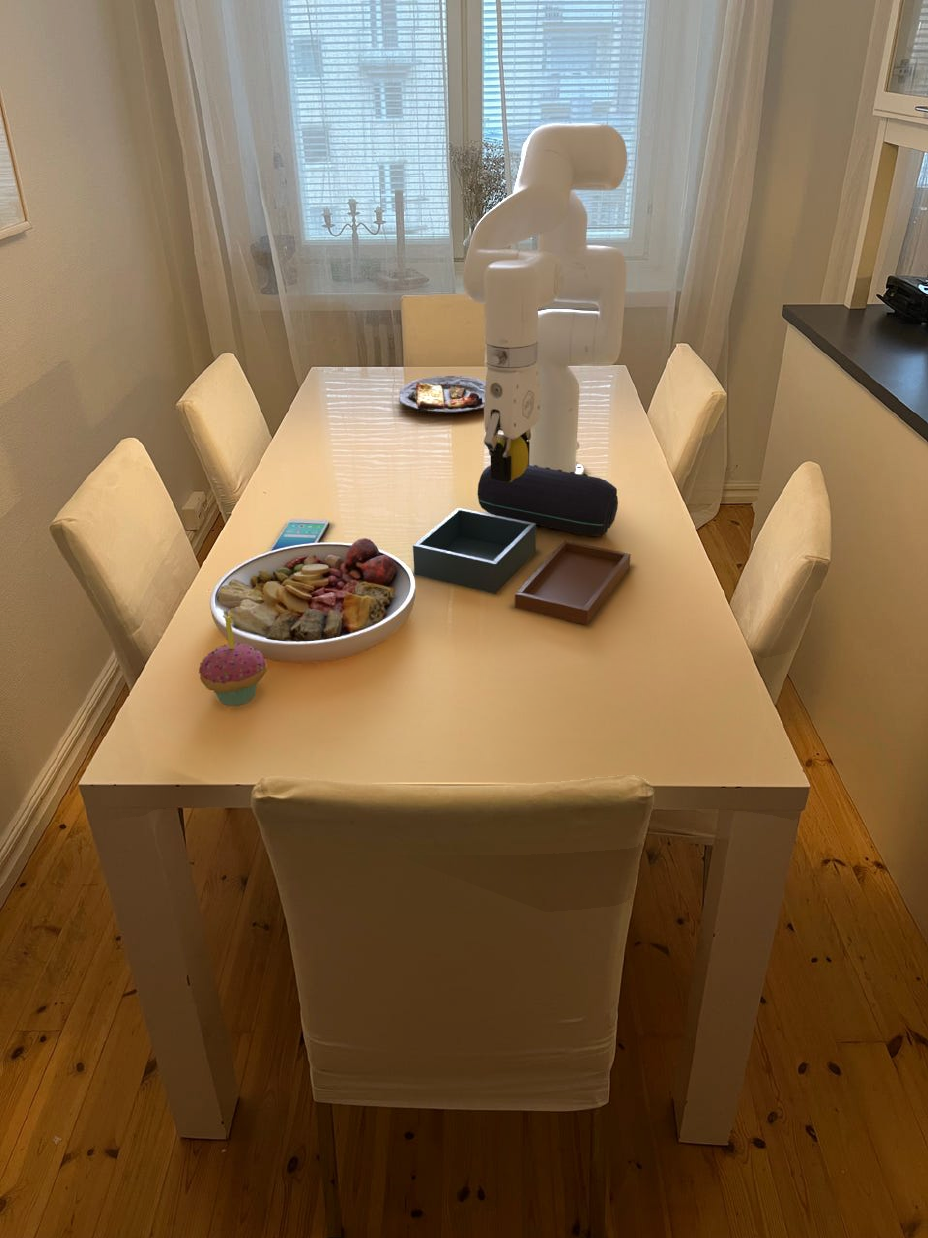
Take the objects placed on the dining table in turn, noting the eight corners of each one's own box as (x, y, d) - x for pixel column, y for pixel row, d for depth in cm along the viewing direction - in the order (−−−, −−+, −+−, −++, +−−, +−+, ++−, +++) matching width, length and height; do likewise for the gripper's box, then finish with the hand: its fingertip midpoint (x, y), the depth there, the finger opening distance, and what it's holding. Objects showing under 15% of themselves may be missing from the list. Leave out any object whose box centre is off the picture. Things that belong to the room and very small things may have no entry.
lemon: (524, 490, 140) (525, 439, 135) (488, 487, 141) (488, 437, 136) (530, 475, 144) (531, 426, 140) (495, 473, 145) (495, 424, 141)
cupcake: (210, 679, 126) (195, 603, 120) (273, 675, 127) (261, 599, 121) (200, 717, 119) (184, 639, 113) (267, 713, 120) (254, 635, 113)
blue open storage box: (458, 535, 162) (457, 507, 159) (535, 551, 156) (536, 523, 153) (414, 574, 150) (412, 545, 147) (495, 594, 144) (495, 564, 142)
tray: (563, 553, 156) (563, 539, 154) (629, 567, 151) (630, 553, 150) (514, 607, 141) (514, 593, 139) (586, 625, 136) (587, 610, 135)
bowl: (332, 699, 122) (326, 649, 118) (171, 636, 136) (161, 589, 132) (454, 598, 143) (453, 553, 139) (305, 553, 157) (300, 511, 153)
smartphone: (330, 519, 166) (307, 559, 153) (330, 524, 166) (308, 563, 154) (289, 518, 167) (264, 557, 154) (290, 522, 167) (264, 561, 155)
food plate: (498, 419, 211) (498, 404, 209) (396, 420, 212) (395, 405, 210) (496, 384, 232) (496, 371, 231) (403, 386, 233) (403, 372, 231)
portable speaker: (624, 526, 164) (628, 473, 158) (604, 549, 156) (607, 495, 151) (497, 500, 174) (496, 449, 169) (472, 521, 167) (471, 469, 161)
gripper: (508, 374, 124) (507, 498, 134) (559, 341, 137) (555, 456, 147) (459, 367, 127) (461, 488, 137) (513, 335, 140) (512, 449, 150)
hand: (510, 471), depth 142 cm, fingers closed on lemon, 5 cm apart
